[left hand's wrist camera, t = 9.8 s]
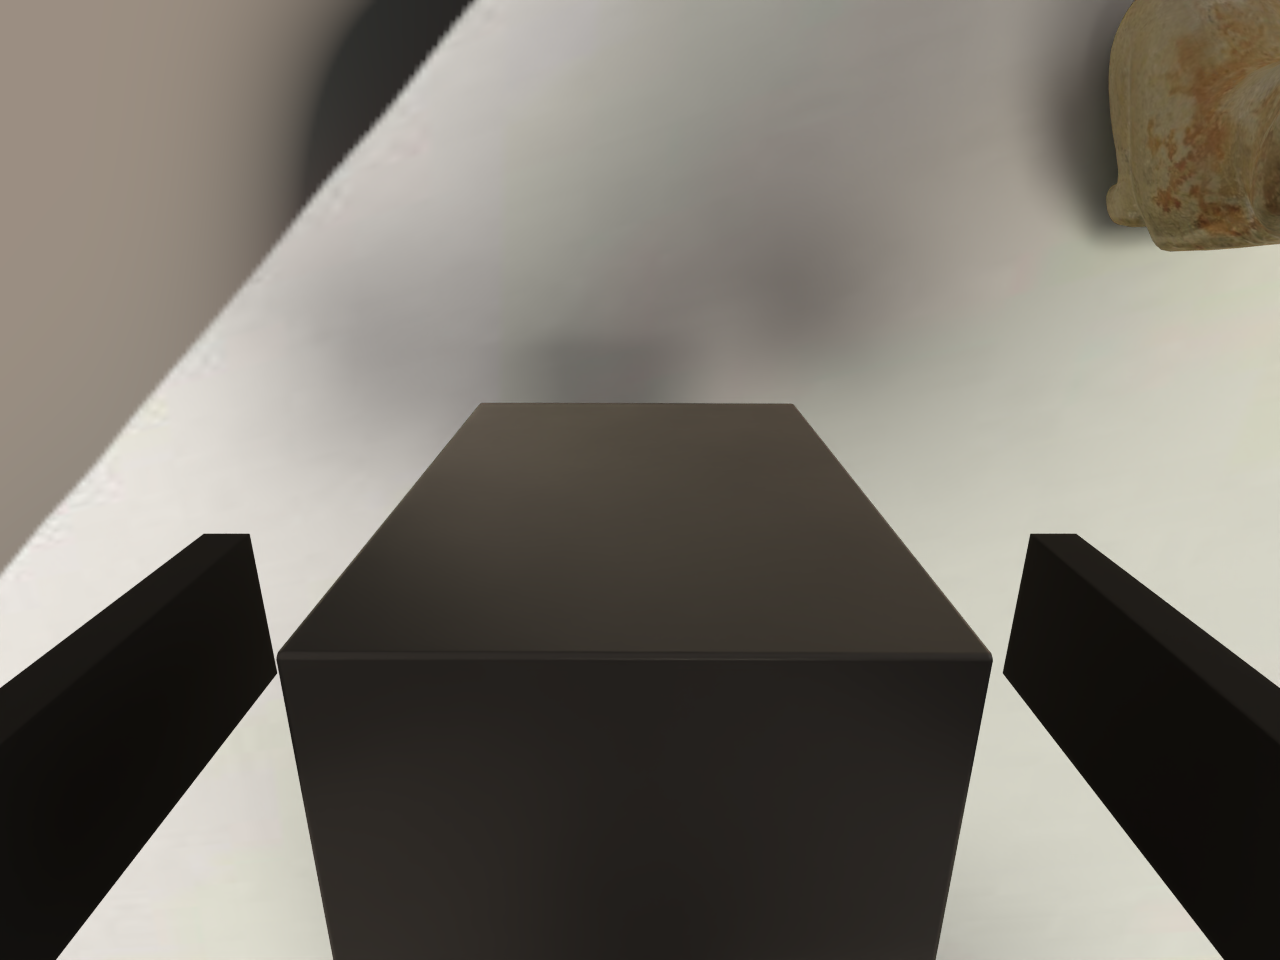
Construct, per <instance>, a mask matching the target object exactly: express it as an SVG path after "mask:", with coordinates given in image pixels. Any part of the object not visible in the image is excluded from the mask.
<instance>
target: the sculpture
mask: <svg viewBox="0 0 1280 960" xmlns="http://www.w3.org/2000/svg"><path fill="white" fill-rule="evenodd" d="M1109 102H1110V114H1111V124H1112V131H1113V138H1114V144H1115V149H1116V156H1117V164H1118V181H1117V184H1115V185H1113V186H1111V187H1110V188H1109V190H1108V193H1107V196H1106V204H1107V211H1108V213H1109V216H1110V218H1111V220H1112V221H1113V222H1114V223H1116V224H1119V225H1124V226H1129V227H1144V226H1147V228H1148V231H1149V233H1150V236H1151V238H1152V240H1153V242H1154V243H1155V245H1156V246H1158V247H1159V248H1160V249H1161V250H1165V251H1194V250H1217V249H1231V248H1242V247H1252V246H1262V245H1272V244H1280V0H1135V1H1134V2H1133V3H1132V5H1131V6H1130V8H1129V9H1128V11H1127V12H1126V14H1125V16H1124V18H1123V19H1122V21H1121V23H1120V25H1119V28H1118V30H1117V32H1116V35H1115V38H1114V41H1113V45H1112V48H1111V55H1110V64H1109Z"/></svg>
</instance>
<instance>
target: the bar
mask: <svg viewBox="0 0 1280 960" xmlns="http://www.w3.org/2000/svg"><path fill="white" fill-rule="evenodd" d="M992 662H993V658H992V654H991V653H990V651H989V650H988V649H987V648H986V646H985V645H984V644H983V643H982V641H981V640H980V639H979V637H978V636H977V635H976V634H975V632H974V631H973V630H972V629H971V627H970V626H969V625H968V624H967V622H966V621H965V620H964V619H963V617H962V616H961V615H960V614H959V612H958V611H957V610H956V609H955V607H954V606H953V605H952V603H951V602H950V601H949V600H948V598H947V597H946V596H945V595H944V593H943V592H942V591H941V590H940V588H939V587H938V586H937V585H936V583H935V582H934V581H933V580H932V578H931V577H930V576H929V574H928V573H927V572H926V571H925V569H924V568H923V567H922V566H921V564H920V563H919V562H918V561H917V559H916V558H915V557H914V556H913V554H912V553H911V552H910V551H909V549H908V548H907V547H906V546H905V544H904V543H903V542H902V540H901V539H900V538H899V537H898V535H897V534H896V533H895V532H894V530H893V529H892V528H891V527H890V525H889V524H888V523H887V522H886V520H885V519H884V518H883V517H882V515H881V514H880V513H879V512H878V510H877V509H876V508H875V506H874V505H873V504H872V503H871V501H870V500H869V499H868V498H867V496H866V495H865V494H864V493H863V491H862V490H861V489H860V488H859V486H858V485H857V484H856V483H855V481H854V480H853V479H852V477H851V476H850V475H849V474H848V472H847V471H846V470H845V469H844V467H843V466H842V465H841V464H840V462H839V461H838V460H837V459H836V457H835V456H834V455H833V454H832V452H831V451H830V450H829V449H828V447H827V446H826V445H825V443H824V442H823V441H822V440H821V438H820V437H819V436H818V435H817V433H816V432H815V431H814V430H813V428H812V427H811V426H810V425H809V423H808V422H807V421H806V420H805V418H804V417H803V416H802V414H801V413H800V412H799V411H798V409H797V408H796V407H795V406H794V405H793V404H697V403H481V404H480V405H479V406H478V407H477V408H476V409H475V411H474V412H473V413H472V414H471V416H470V417H469V418H468V419H467V421H466V422H465V423H464V424H463V425H462V427H461V428H460V429H459V430H458V432H457V433H456V434H455V435H454V436H453V438H452V439H451V440H450V441H449V443H448V444H447V445H446V446H445V448H444V449H443V450H442V451H441V452H440V454H439V455H438V456H437V457H436V459H435V460H434V461H433V462H432V464H431V465H430V466H429V467H428V468H427V470H426V471H425V472H424V473H423V475H422V476H421V477H420V478H419V480H418V481H417V482H416V483H415V484H414V486H413V487H412V488H411V489H410V491H409V492H408V493H407V494H406V496H405V497H404V498H403V499H402V500H401V502H400V503H399V504H398V505H397V507H396V508H395V509H394V510H393V512H392V513H391V514H390V515H389V516H388V518H387V519H386V520H385V521H384V523H383V524H382V525H381V526H380V528H379V529H378V530H377V531H376V532H375V534H374V535H373V536H372V537H371V539H370V540H369V541H368V542H367V544H366V545H365V546H364V547H363V548H362V550H361V551H360V552H359V553H358V555H357V556H356V557H355V558H354V560H353V561H352V562H351V563H350V564H349V566H348V567H347V568H346V569H345V571H344V572H343V573H342V574H341V576H340V577H339V578H338V579H337V580H336V582H335V583H334V584H333V585H332V587H331V588H330V589H329V590H328V592H327V593H326V594H325V595H324V596H323V598H322V599H321V600H320V601H319V603H318V604H317V605H316V606H315V607H314V609H313V610H312V611H311V612H310V614H309V615H308V616H307V617H306V619H305V620H304V621H303V622H302V623H301V625H300V626H299V627H298V628H297V630H296V631H295V632H294V633H293V635H292V636H291V637H290V638H289V639H288V641H287V642H286V643H285V644H284V646H283V647H282V648H281V649H280V651H279V652H278V654H277V665H278V670H279V675H280V681H281V686H282V691H283V696H284V702H285V707H286V712H287V718H288V723H289V728H290V733H291V739H292V744H293V749H294V754H295V760H296V765H297V770H298V776H299V781H300V786H301V791H302V797H303V802H304V807H305V813H306V818H307V823H308V828H309V834H310V839H311V844H312V850H313V855H314V860H315V865H316V871H317V876H318V881H319V886H320V892H321V897H322V902H323V908H324V913H325V918H326V923H327V929H328V934H329V939H330V945H331V950H332V955H333V960H936V954H937V949H938V944H939V939H940V933H941V928H942V923H943V918H944V913H945V907H946V902H947V897H948V892H949V886H950V881H951V876H952V871H953V866H954V860H955V855H956V850H957V845H958V839H959V834H960V829H961V824H962V819H963V813H964V808H965V803H966V798H967V792H968V787H969V782H970V777H971V772H972V766H973V761H974V756H975V751H976V745H977V740H978V735H979V730H980V725H981V719H982V714H983V709H984V704H985V698H986V693H987V688H988V683H989V678H990V672H991V667H992Z"/></svg>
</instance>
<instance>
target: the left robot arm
mask: <svg viewBox="0 0 1280 960" xmlns="http://www.w3.org/2000/svg"><path fill="white" fill-rule="evenodd" d="M276 674H277V669H276V664H275V659H274V654H273V649H272V644H271V639H270V634H269V629H268V624H267V619H266V614H265V609H264V604H263V599H262V594H261V589H260V584H259V579H258V574H257V569H256V564H255V559H254V554H253V549H252V544H251V539H250V534H203V535H202V536H200V537H199V538H198V539H196V540H195V541H194V542H192V543H191V544H190V545H188V546H187V547H186V548H184V549H183V550H182V551H181V552H179V553H178V554H177V555H175V556H174V557H173V558H171V559H170V560H169V561H167V562H166V563H165V564H163V565H162V566H161V567H159V568H158V569H157V570H155V571H154V572H153V573H151V574H150V575H149V576H148V577H146V578H145V579H144V580H142V581H141V582H140V583H138V584H137V585H136V586H134V587H133V588H132V589H130V590H129V591H128V592H126V593H125V594H124V595H122V596H121V597H120V598H118V599H117V600H116V601H115V602H113V603H112V604H111V605H109V606H108V607H107V608H105V609H104V610H103V611H101V612H100V613H99V614H97V615H96V616H95V617H93V618H92V619H91V620H89V621H88V622H87V623H85V624H84V625H83V626H82V627H80V628H79V629H78V630H76V631H75V632H74V633H72V634H71V635H70V636H68V637H67V638H66V639H64V640H63V641H62V642H60V643H59V644H58V645H56V646H55V647H54V648H52V649H51V650H50V651H49V652H47V653H46V654H45V655H43V656H42V657H41V658H39V659H38V660H37V661H35V662H34V663H33V664H31V665H30V666H29V667H27V668H26V669H25V670H23V671H22V672H21V673H19V674H18V675H17V676H16V677H14V678H13V679H12V680H10V681H9V682H8V683H6V684H5V685H4V686H2V687H1V688H0V960H56V959H57V958H58V956H59V955H60V954H61V953H62V951H63V950H64V949H65V947H66V946H67V945H68V943H69V942H70V941H71V940H72V938H73V937H74V936H75V934H76V933H77V932H78V931H79V929H80V928H81V927H82V925H83V924H84V923H85V921H86V920H87V919H88V918H89V916H90V915H91V914H92V912H93V911H94V910H95V908H96V907H97V906H98V905H99V903H100V902H101V901H102V899H103V898H104V897H105V896H106V894H107V893H108V892H109V890H110V889H111V888H112V886H113V885H114V884H115V883H116V881H117V880H118V879H119V877H120V876H121V875H122V874H123V872H124V871H125V870H126V868H127V867H128V866H129V864H130V863H131V862H132V861H133V859H134V858H135V857H136V855H137V854H138V853H139V852H140V850H141V849H142V848H143V846H144V845H145V844H146V842H147V841H148V840H149V839H150V837H151V836H152V835H153V833H154V832H155V831H156V830H157V828H158V827H159V826H160V824H161V823H162V822H163V820H164V819H165V818H166V817H167V815H168V814H169V813H170V811H171V810H172V809H173V807H174V806H175V805H176V804H177V802H178V801H179V800H180V798H181V797H182V796H183V795H184V793H185V792H186V791H187V789H188V788H189V787H190V785H191V784H192V783H193V782H194V780H195V779H196V778H197V776H198V775H199V774H200V773H201V771H202V770H203V769H204V767H205V766H206V765H207V763H208V762H209V761H210V760H211V758H212V757H213V756H214V754H215V753H216V752H217V751H218V749H219V748H220V747H221V745H222V744H223V743H224V741H225V740H226V739H227V738H228V736H229V735H230V734H231V732H232V731H233V730H234V729H235V727H236V726H237V725H238V723H239V722H240V721H241V719H242V718H243V717H244V716H245V714H246V713H247V712H248V710H249V709H250V708H251V706H252V705H253V704H254V703H255V701H256V700H257V699H258V697H259V696H260V695H261V694H262V692H263V691H264V690H265V688H266V687H267V686H268V684H269V683H270V682H271V681H272V679H273V678H274V677H275V675H276ZM1003 674H1004V675H1005V677H1006V678H1007V679H1008V681H1009V682H1010V683H1011V684H1012V686H1013V687H1014V688H1015V690H1016V691H1017V692H1018V694H1019V695H1020V696H1021V697H1022V699H1023V700H1024V701H1025V703H1026V704H1027V705H1028V706H1029V708H1030V709H1031V710H1032V712H1033V713H1034V714H1035V716H1036V717H1037V718H1038V719H1039V721H1040V722H1041V723H1042V725H1043V726H1044V727H1045V729H1046V730H1047V731H1048V732H1049V734H1050V735H1051V736H1052V738H1053V739H1054V740H1055V741H1056V743H1057V744H1058V745H1059V747H1060V748H1061V749H1062V751H1063V752H1064V753H1065V754H1066V756H1067V757H1068V758H1069V760H1070V761H1071V762H1072V763H1073V765H1074V766H1075V767H1076V769H1077V770H1078V771H1079V773H1080V774H1081V775H1082V776H1083V778H1084V779H1085V780H1086V782H1087V783H1088V784H1089V785H1090V787H1091V788H1092V789H1093V791H1094V792H1095V793H1096V795H1097V796H1098V797H1099V798H1100V800H1101V801H1102V802H1103V804H1104V805H1105V806H1106V807H1107V809H1108V810H1109V811H1110V813H1111V814H1112V815H1113V817H1114V818H1115V819H1116V820H1117V822H1118V823H1119V824H1120V826H1121V827H1122V828H1123V830H1124V831H1125V832H1126V833H1127V835H1128V836H1129V837H1130V839H1131V840H1132V841H1133V842H1134V844H1135V845H1136V846H1137V848H1138V849H1139V850H1140V852H1141V853H1142V854H1143V855H1144V857H1145V858H1146V859H1147V861H1148V862H1149V863H1150V864H1151V866H1152V867H1153V868H1154V870H1155V871H1156V872H1157V874H1158V875H1159V876H1160V877H1161V879H1162V880H1163V881H1164V883H1165V884H1166V885H1167V886H1168V888H1169V889H1170V890H1171V892H1172V893H1173V894H1174V896H1175V897H1176V898H1177V899H1178V901H1179V902H1180V903H1181V905H1182V906H1183V907H1184V908H1185V910H1186V911H1187V912H1188V914H1189V915H1190V916H1191V918H1192V919H1193V920H1194V921H1195V923H1196V924H1197V925H1198V927H1199V928H1200V929H1201V931H1202V932H1203V933H1204V934H1205V936H1206V937H1207V938H1208V940H1209V941H1210V942H1211V943H1212V945H1213V946H1214V947H1215V949H1216V950H1217V951H1218V953H1219V954H1220V955H1221V956H1222V958H1223V959H1224V960H1280V688H1279V687H1278V686H1276V685H1275V684H1274V683H1272V682H1271V681H1270V680H1268V679H1267V678H1266V677H1264V676H1263V675H1262V674H1261V673H1259V672H1258V671H1257V670H1255V669H1254V668H1253V667H1251V666H1250V665H1249V664H1247V663H1246V662H1245V661H1243V660H1242V659H1241V658H1239V657H1238V656H1237V655H1235V654H1234V653H1233V652H1231V651H1230V650H1229V649H1228V648H1226V647H1225V646H1224V645H1222V644H1221V643H1220V642H1218V641H1217V640H1216V639H1214V638H1213V637H1212V636H1210V635H1209V634H1208V633H1206V632H1205V631H1204V630H1202V629H1201V628H1200V627H1198V626H1197V625H1196V624H1195V623H1193V622H1192V621H1191V620H1189V619H1188V618H1187V617H1185V616H1184V615H1183V614H1181V613H1180V612H1179V611H1177V610H1176V609H1175V608H1173V607H1172V606H1171V605H1169V604H1168V603H1167V602H1165V601H1164V600H1163V599H1162V598H1160V597H1159V596H1158V595H1156V594H1155V593H1154V592H1152V591H1151V590H1150V589H1148V588H1147V587H1146V586H1144V585H1143V584H1142V583H1140V582H1139V581H1138V580H1136V579H1135V578H1134V577H1132V576H1131V575H1130V574H1129V573H1127V572H1126V571H1125V570H1123V569H1122V568H1121V567H1119V566H1118V565H1117V564H1115V563H1114V562H1113V561H1111V560H1110V559H1109V558H1107V557H1106V556H1105V555H1103V554H1102V553H1101V552H1099V551H1098V550H1097V549H1096V548H1094V547H1093V546H1092V545H1090V544H1089V543H1088V542H1086V541H1085V540H1084V539H1082V538H1081V537H1080V536H1078V535H1077V534H1030V539H1029V544H1028V549H1027V554H1026V559H1025V564H1024V569H1023V574H1022V579H1021V584H1020V589H1019V594H1018V599H1017V604H1016V609H1015V614H1014V619H1013V624H1012V629H1011V634H1010V639H1009V644H1008V649H1007V654H1006V659H1005V664H1004V669H1003Z"/></svg>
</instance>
